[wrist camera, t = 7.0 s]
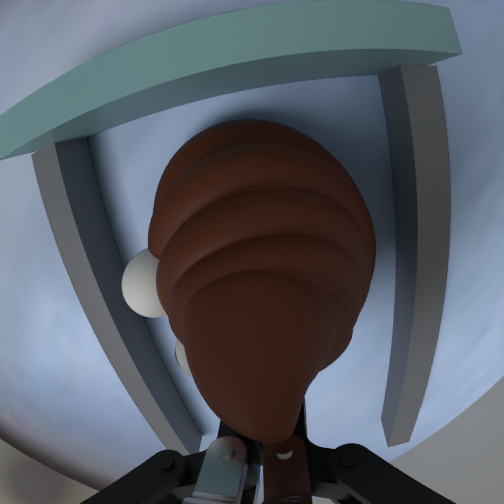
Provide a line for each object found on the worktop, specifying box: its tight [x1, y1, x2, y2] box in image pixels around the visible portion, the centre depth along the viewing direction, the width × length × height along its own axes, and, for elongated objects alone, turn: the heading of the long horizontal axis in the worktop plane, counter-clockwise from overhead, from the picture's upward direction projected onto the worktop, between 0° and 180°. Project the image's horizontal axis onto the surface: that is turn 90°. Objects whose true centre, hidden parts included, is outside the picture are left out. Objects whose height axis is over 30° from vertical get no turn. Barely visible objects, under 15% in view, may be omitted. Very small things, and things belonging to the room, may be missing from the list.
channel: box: [0, 0, 462, 456], centre depth 12 cm, size 22×16×5 cm
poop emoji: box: [122, 119, 376, 443], centre depth 9 cm, size 10×8×9 cm
